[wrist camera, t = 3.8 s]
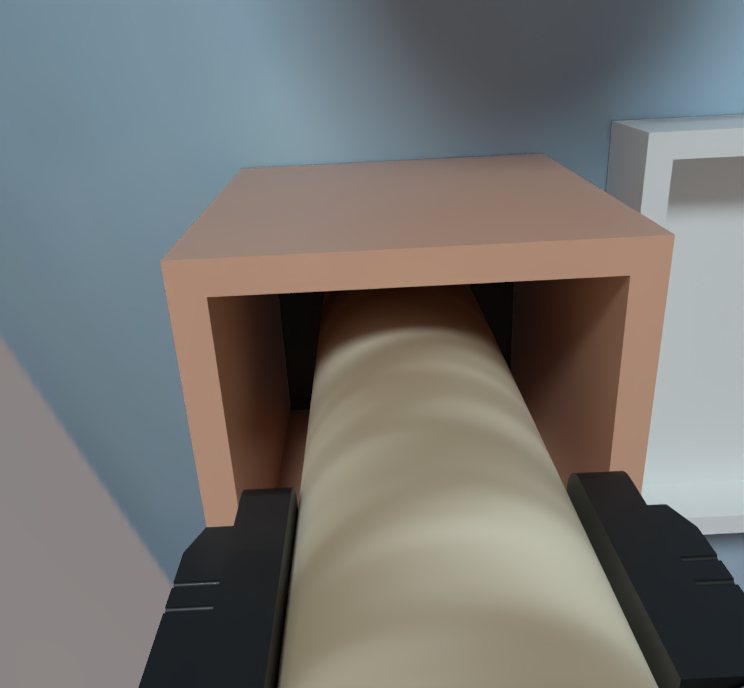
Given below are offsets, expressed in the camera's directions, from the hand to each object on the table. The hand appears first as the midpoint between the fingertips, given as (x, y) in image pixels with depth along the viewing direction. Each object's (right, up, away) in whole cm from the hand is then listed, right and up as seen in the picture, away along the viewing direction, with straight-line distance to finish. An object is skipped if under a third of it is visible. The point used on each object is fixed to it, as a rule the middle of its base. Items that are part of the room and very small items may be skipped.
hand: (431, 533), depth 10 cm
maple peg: (0, +4, +9) cm, 10 cm away
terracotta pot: (0, +4, +9) cm, 10 cm away
